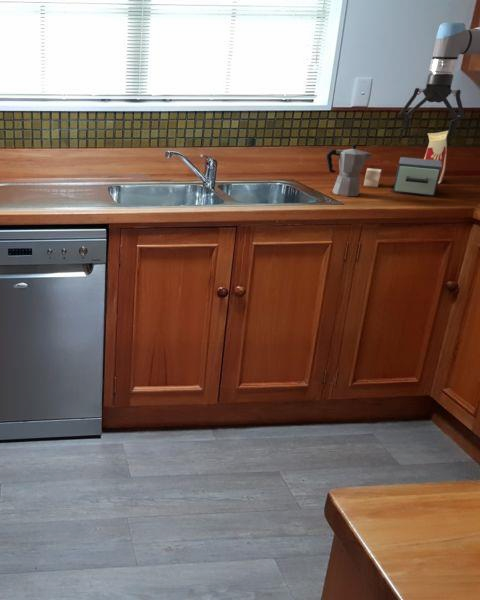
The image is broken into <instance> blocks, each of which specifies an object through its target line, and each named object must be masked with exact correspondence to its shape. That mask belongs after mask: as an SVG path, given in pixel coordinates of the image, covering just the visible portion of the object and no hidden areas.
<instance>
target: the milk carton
mask: <svg viewBox="0 0 480 600" xmlns="http://www.w3.org/2000/svg"><path fill="white" fill-rule="evenodd" d="M448 132H449V130H445V131H439V132H429V133H426V134H427V136H428V140H429V141H428V145H427V148H426V152H425V155H424V157H423V159H429V160H441V164H442V168H441V172H440V177H439V181H438V184H441V183H442V182H443V179H444V175H445V171H446V167H447V166H446V164H447V154H448V150H447V149H448V148H447V147H448V145H447V144H448V143H447V136H448Z"/></svg>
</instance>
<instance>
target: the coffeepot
mask: <svg viewBox="0 0 480 600" xmlns="http://www.w3.org/2000/svg"><path fill="white" fill-rule="evenodd" d="M357 146H358V144H357V143H352V144H351V147H352V148H349V149H335V148H334V149H331V150H329V151H328V152H327V153H326V156H325V158H326V160H327V166H328V167H327V168H328V171H329V173H331V174H332V173H333V174H335V173H336V171H337V170H336V169H333V166H334V165H333V157H332V156H338V157H339V158H338V170H339V173H338V175H337V178H336V180H335V183H334V187H333V189H332V193H333V194H334V195H336V196H341V197H357V196H359V195H360V173H361V172H362V170H363V167H364V165H365V163H366V162H367V161H369V159H370V158H371V157H373V156H374V154H373V153H371V152H368V151H364V150H360V149H357Z"/></svg>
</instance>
